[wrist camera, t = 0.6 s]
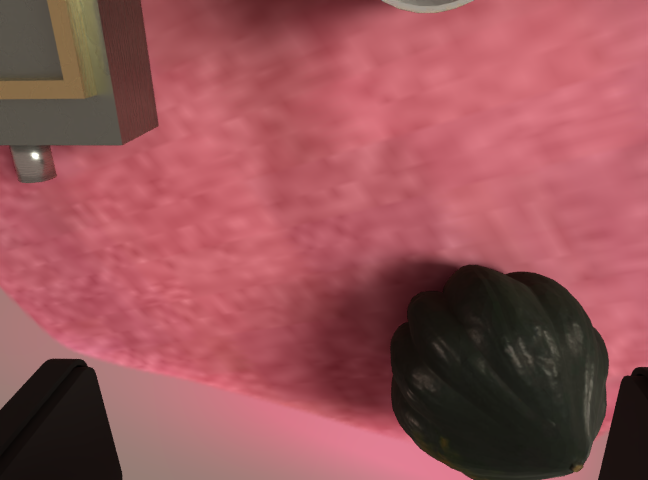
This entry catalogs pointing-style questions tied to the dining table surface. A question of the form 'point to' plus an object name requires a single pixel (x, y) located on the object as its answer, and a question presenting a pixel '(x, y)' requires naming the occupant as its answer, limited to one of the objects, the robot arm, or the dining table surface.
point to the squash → (500, 376)
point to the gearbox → (71, 78)
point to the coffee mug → (427, 5)
